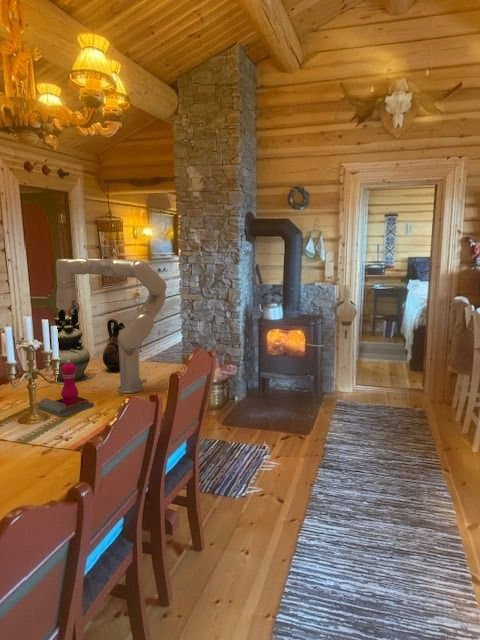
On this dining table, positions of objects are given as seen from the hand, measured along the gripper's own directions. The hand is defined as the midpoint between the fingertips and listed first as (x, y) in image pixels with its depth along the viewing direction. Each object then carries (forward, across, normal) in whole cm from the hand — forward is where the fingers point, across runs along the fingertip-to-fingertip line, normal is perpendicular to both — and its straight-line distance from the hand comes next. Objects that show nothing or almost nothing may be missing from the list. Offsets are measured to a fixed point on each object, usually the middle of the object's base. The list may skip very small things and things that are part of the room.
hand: (68, 321), depth 212 cm
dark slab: (+36, +12, -12) cm, 40 cm away
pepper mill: (+35, +12, -10) cm, 38 cm away
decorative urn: (+36, -26, +17) cm, 48 cm away
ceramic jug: (+36, -20, +43) cm, 60 cm away
